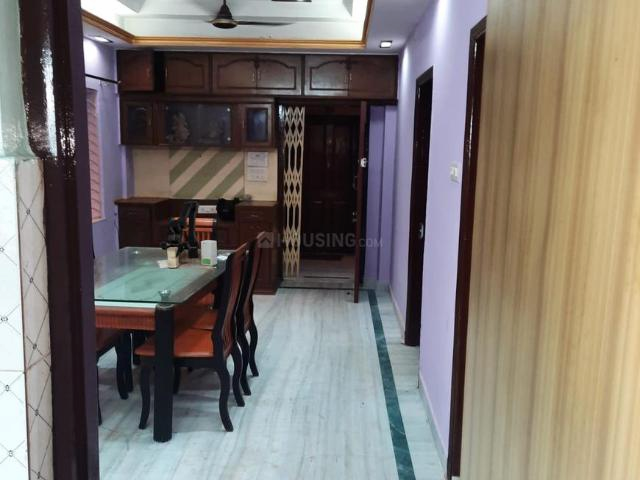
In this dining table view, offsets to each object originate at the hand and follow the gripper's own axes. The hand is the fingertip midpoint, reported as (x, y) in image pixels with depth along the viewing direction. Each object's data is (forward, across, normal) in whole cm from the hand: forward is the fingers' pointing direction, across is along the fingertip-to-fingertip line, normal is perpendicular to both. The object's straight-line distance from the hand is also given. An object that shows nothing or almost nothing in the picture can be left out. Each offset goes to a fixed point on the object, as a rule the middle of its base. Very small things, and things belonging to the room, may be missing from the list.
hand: (172, 256), depth 350 cm
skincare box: (-4, +20, +15) cm, 25 cm away
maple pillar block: (+4, 0, +6) cm, 7 cm away
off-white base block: (0, -8, +11) cm, 13 cm away
